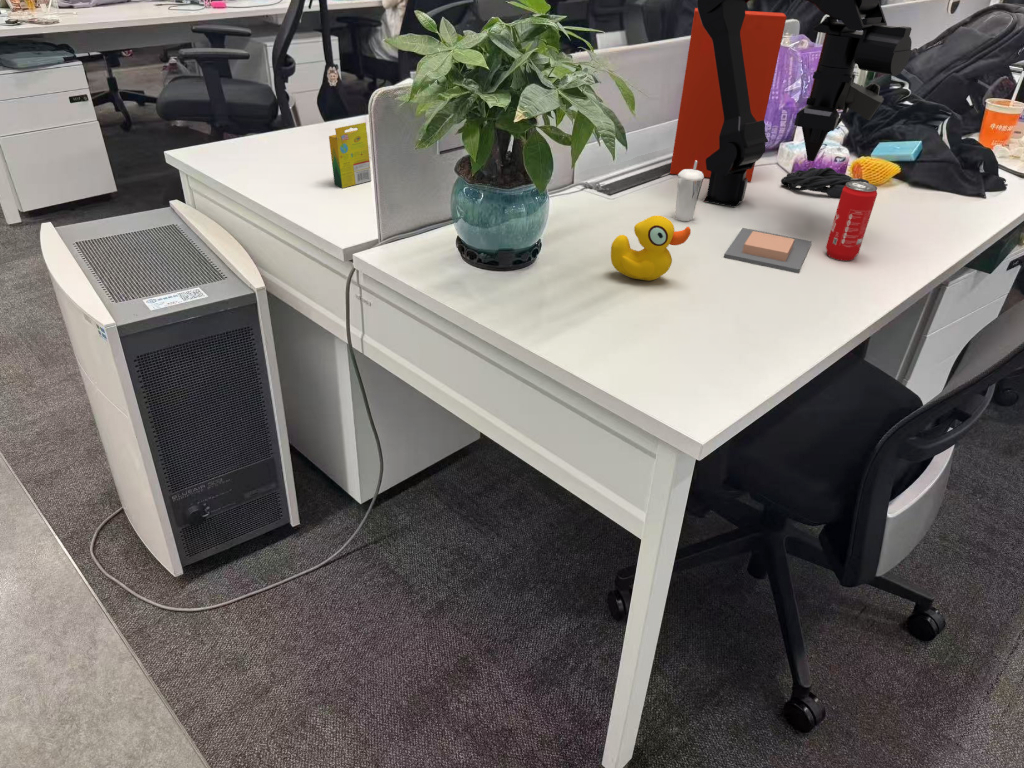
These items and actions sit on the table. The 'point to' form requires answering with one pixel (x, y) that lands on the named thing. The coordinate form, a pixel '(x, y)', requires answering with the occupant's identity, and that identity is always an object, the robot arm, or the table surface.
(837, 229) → the beverage can
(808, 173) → the cable
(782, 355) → the table surface
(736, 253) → the mat
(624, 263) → the duckling
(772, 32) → the file binder
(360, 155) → the crayon box
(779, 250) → the tile
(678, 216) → the milkshake
